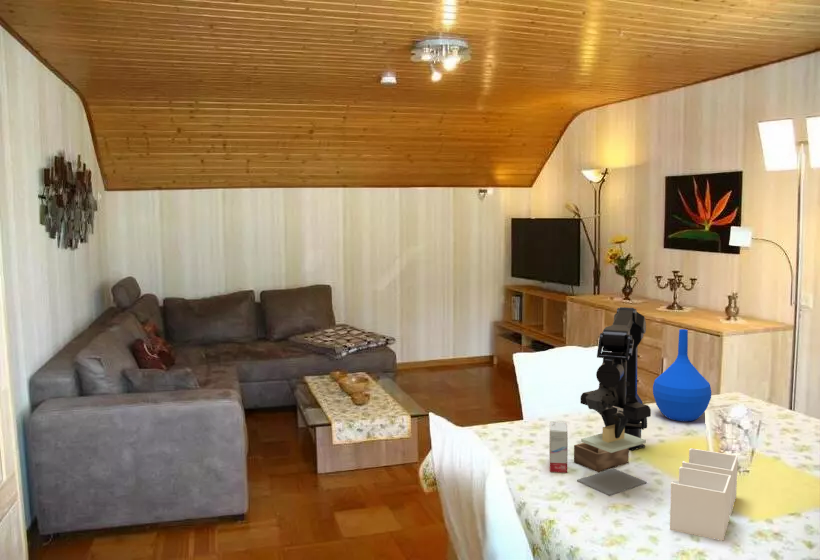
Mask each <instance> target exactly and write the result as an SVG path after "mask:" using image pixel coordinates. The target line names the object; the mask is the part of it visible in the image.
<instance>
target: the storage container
mask: <svg viewBox="0 0 820 560" xmlns="http://www.w3.org/2000/svg"><path fill="white" fill-rule="evenodd" d="M738 458H739V457H738V455H736V454H730V453H723V452H717V451H710V450H705V449H704V450H703V449H697V448H689V451H688V462H686V461H685V460H683V461H682V465H681V466H679V468H678V483H675V482H674V481H671V483H670V509H669V510H670V511H669V515H670V516H669V530H670V531H675V532H680V533H683V534H689V535H693V534H694V536H699V537H702V536H704V537H703V538H707V537H709V539H712V538H713V540H716V539H719V540H718V541H721V540H723V541H724V539H725V537H724V536H725V535H726V533H727V530H728V527H729V523H728V522H730V516H731V515H732V513H733V510H732V509H734V507H733V505H734V506H735V504H734V502H735V503H736V500H735V499H737V489H738V488H737V486H738V485H737V484H738V483H737V482H738V481H737V480H738V464H739V463H738V462H739V461H738ZM730 514H731V515H730ZM727 526H728V527H727ZM726 529H727V530H726ZM714 538H715V539H714Z"/></svg>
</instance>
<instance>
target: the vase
mask: <svg viewBox="0 0 820 560" xmlns="http://www.w3.org/2000/svg"><path fill="white" fill-rule="evenodd" d="M688 335H689V334H688V329H683V328H681V329H679V330H678V347H677V349H678V350H677V356H676V358H675V360H674V361H673V362H672V363H671V365H669V367H668V368H666V369H665V370H664V371H663V372H662V373H661V374H659V375H658V376H657V377H656V378H655V379H654V382H653V385H652V395H653V398H654V402H655V404H656V406H657V408H658V410H659V411H660V412H661V413H662V414H663V416H665V418H667V419H669V420H673V421H677V422H693V421H696V420H697V419H699V418H701V417H702V415H704V413H705V411H706V410H707V408H708V406H709V404H710V402H711V399H712V387H711V384H710V382H709V381H708V380H707V379H706V378H705V377H704V376H703V375H702V374H701V372H699V371H698V370H697V368H696V367H695V366H694V365H693V364H692V362H691V361H690V359H689V355H688V354H689V351H688V350H689V349H688V345H689V340H688V339H689V336H688Z"/></svg>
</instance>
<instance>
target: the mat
mask: <svg viewBox="0 0 820 560" xmlns="http://www.w3.org/2000/svg"><path fill="white" fill-rule="evenodd" d="M576 482H578V483H580V484H582V485H584V486H587V487H588V488H590V489H593V490H596V491H598V492H600V493H602V494H604V495H606V496H608V497H610V496H613V495H615V494H619V493H622V492H625V491H627V490H631V489H634V488H637V487H640V486H642V485H645V484H648V482H647V480H645V479H641V478H640V477H637V476H634V475H632V474H629V473H627V472H624V471H622V470H619V469H617V468H615V467H614V468H611V469H608V470H605V471H602V472H596V473H595V474H591V475H588V476H585V477H581V478H578V479H576Z"/></svg>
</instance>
